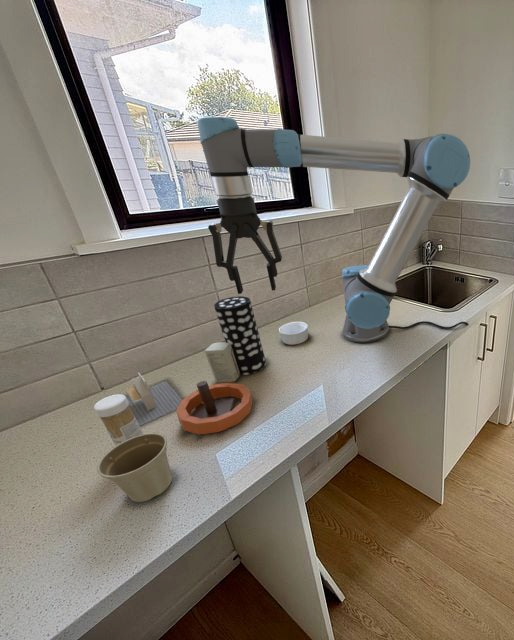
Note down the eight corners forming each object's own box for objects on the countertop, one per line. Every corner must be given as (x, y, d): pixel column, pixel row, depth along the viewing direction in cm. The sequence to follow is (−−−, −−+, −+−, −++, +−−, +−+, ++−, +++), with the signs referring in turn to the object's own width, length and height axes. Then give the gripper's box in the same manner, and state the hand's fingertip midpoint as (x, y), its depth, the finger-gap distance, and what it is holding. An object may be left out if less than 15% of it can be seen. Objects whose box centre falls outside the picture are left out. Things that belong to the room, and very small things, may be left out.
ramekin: (309, 331, 115) (307, 319, 113) (310, 343, 107) (307, 331, 105) (281, 335, 112) (279, 323, 110) (280, 348, 105) (277, 335, 103)
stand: (235, 400, 82) (225, 370, 78) (228, 422, 76) (217, 391, 72) (198, 407, 80) (186, 376, 76) (188, 430, 73) (174, 398, 69)
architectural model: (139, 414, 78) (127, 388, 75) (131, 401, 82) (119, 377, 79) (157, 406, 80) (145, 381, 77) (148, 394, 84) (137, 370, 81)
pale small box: (242, 372, 93) (232, 341, 88) (235, 382, 89) (224, 350, 84) (223, 373, 93) (212, 341, 88) (215, 382, 89) (203, 350, 84)
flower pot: (109, 520, 55) (85, 485, 52) (128, 475, 63) (109, 442, 59) (176, 499, 59) (159, 465, 55) (186, 459, 66) (172, 426, 63)
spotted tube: (262, 373, 93) (245, 307, 84) (229, 376, 91) (208, 310, 82) (269, 357, 100) (253, 295, 91) (239, 360, 99) (220, 297, 90)
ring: (255, 389, 86) (254, 380, 85) (246, 428, 74) (244, 417, 73) (191, 396, 82) (189, 386, 81) (170, 438, 70) (167, 427, 68)
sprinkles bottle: (117, 458, 67) (87, 405, 61) (142, 441, 71) (115, 390, 65) (131, 465, 65) (102, 412, 59) (156, 448, 69) (130, 396, 63)
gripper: (283, 193, 82) (299, 281, 92) (189, 196, 77) (217, 289, 87) (280, 196, 75) (298, 291, 86) (178, 199, 70) (210, 300, 80)
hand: (257, 290), depth 86 cm, fingers open, 7 cm apart
